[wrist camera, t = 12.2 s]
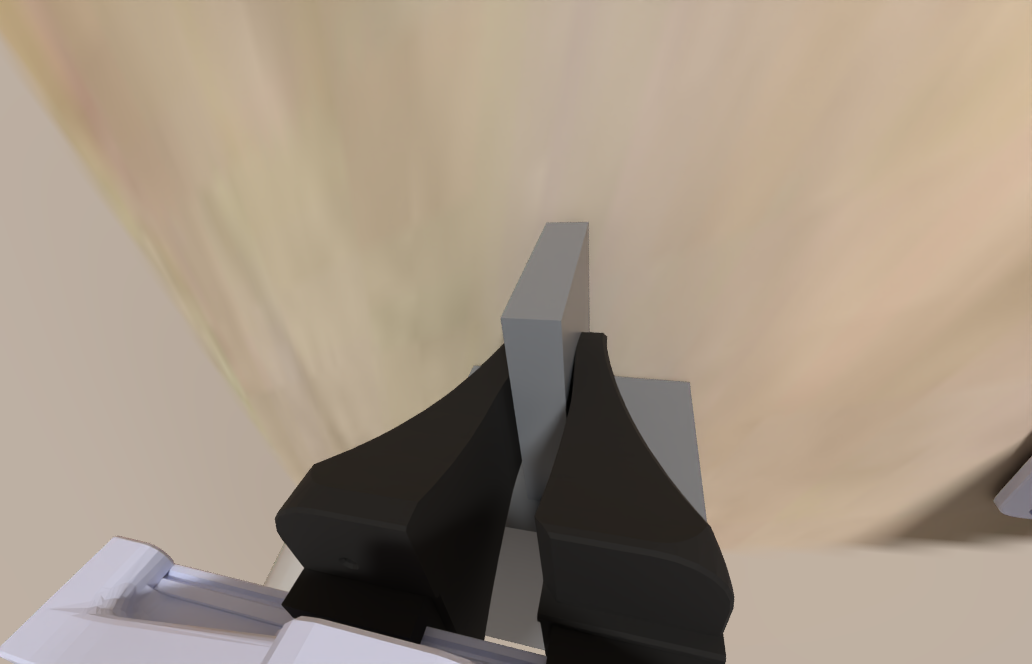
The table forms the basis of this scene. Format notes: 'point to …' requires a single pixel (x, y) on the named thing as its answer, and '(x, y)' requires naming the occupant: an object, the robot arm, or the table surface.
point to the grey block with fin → (544, 409)
